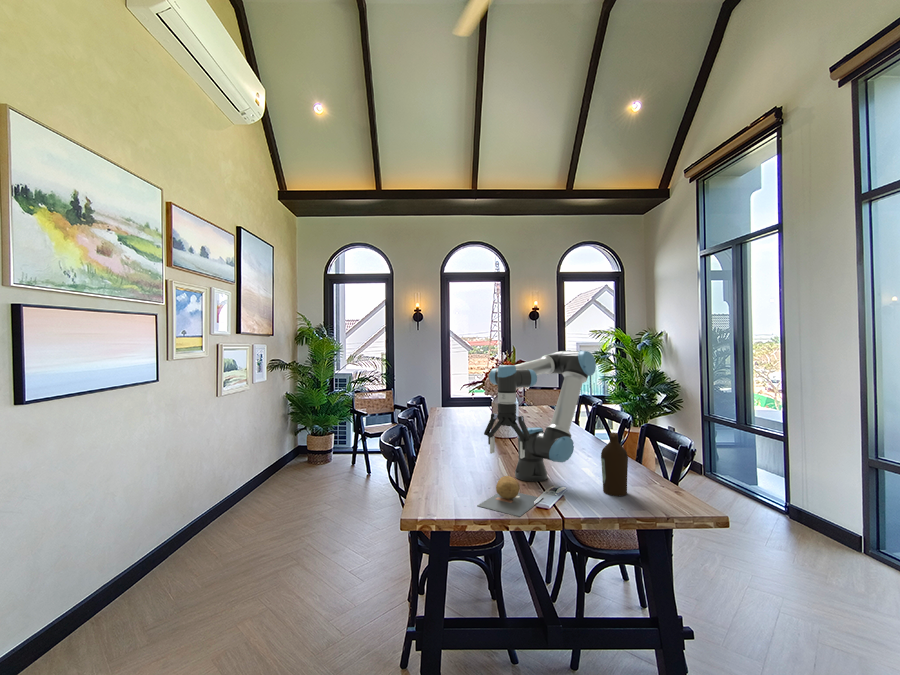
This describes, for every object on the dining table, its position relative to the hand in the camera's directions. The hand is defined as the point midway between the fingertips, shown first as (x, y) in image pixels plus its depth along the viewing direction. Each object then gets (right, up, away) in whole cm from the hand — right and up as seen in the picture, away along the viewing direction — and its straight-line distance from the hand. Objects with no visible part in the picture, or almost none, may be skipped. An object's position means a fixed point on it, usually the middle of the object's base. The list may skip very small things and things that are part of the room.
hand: (507, 455), depth 166 cm
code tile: (+1, -17, -5) cm, 18 cm away
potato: (0, -17, 0) cm, 17 cm away
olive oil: (+47, -18, +6) cm, 50 cm away
